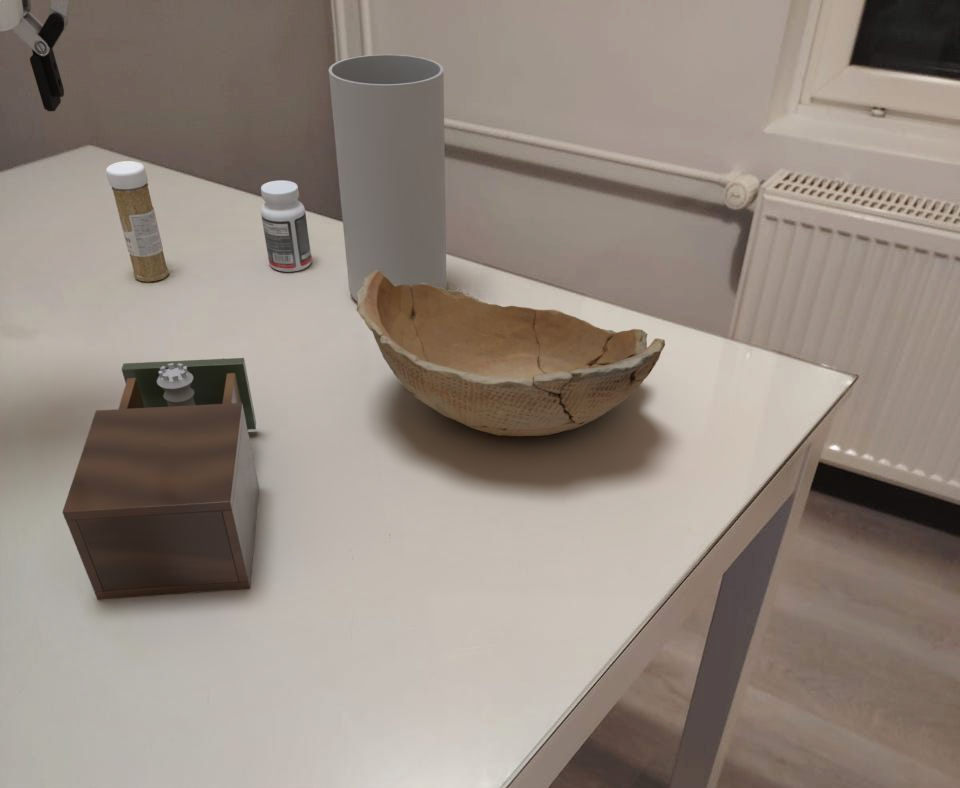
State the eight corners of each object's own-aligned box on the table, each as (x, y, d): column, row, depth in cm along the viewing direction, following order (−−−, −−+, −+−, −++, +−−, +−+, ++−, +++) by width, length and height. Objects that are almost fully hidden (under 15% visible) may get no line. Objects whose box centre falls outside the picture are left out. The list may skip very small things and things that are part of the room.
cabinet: (123, 494, 85) (95, 410, 78) (258, 486, 86) (242, 402, 80) (96, 599, 75) (61, 512, 68) (250, 588, 76) (230, 501, 69)
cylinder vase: (337, 309, 112) (313, 80, 94) (364, 268, 121) (346, 51, 103) (435, 319, 111) (429, 88, 93) (455, 276, 119) (453, 58, 101)
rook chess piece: (224, 441, 88) (208, 366, 82) (191, 463, 85) (171, 387, 79) (192, 427, 90) (173, 353, 84) (158, 448, 87) (136, 372, 81)
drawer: (149, 404, 94) (130, 339, 89) (258, 399, 95) (246, 334, 90) (121, 510, 82) (98, 441, 77) (248, 502, 83) (234, 434, 78)
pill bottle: (299, 252, 124) (289, 175, 117) (319, 266, 121) (310, 188, 114) (261, 262, 122) (249, 184, 115) (281, 277, 119) (269, 198, 111)
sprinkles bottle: (131, 272, 119) (102, 162, 109) (166, 266, 120) (140, 157, 111) (138, 285, 116) (108, 174, 107) (173, 279, 118) (147, 169, 108)
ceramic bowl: (638, 329, 105) (656, 207, 93) (657, 500, 90) (681, 381, 78) (384, 330, 106) (368, 209, 94) (361, 499, 91) (338, 381, 79)
